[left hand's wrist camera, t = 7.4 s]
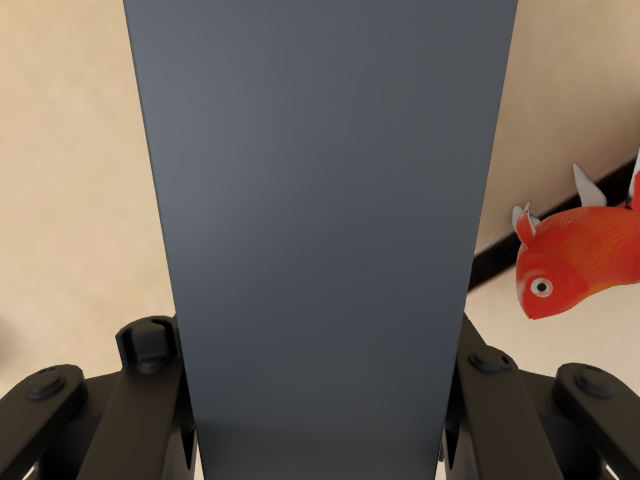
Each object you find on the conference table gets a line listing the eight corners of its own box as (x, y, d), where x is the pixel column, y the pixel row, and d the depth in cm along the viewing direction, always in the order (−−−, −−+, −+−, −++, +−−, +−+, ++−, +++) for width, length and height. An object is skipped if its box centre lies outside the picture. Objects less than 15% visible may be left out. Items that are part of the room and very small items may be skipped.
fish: (435, 177, 18) (690, 261, 11) (612, 31, 22) (901, 17, 14) (462, 300, 25) (632, 405, 17) (595, 173, 28) (785, 215, 21)
